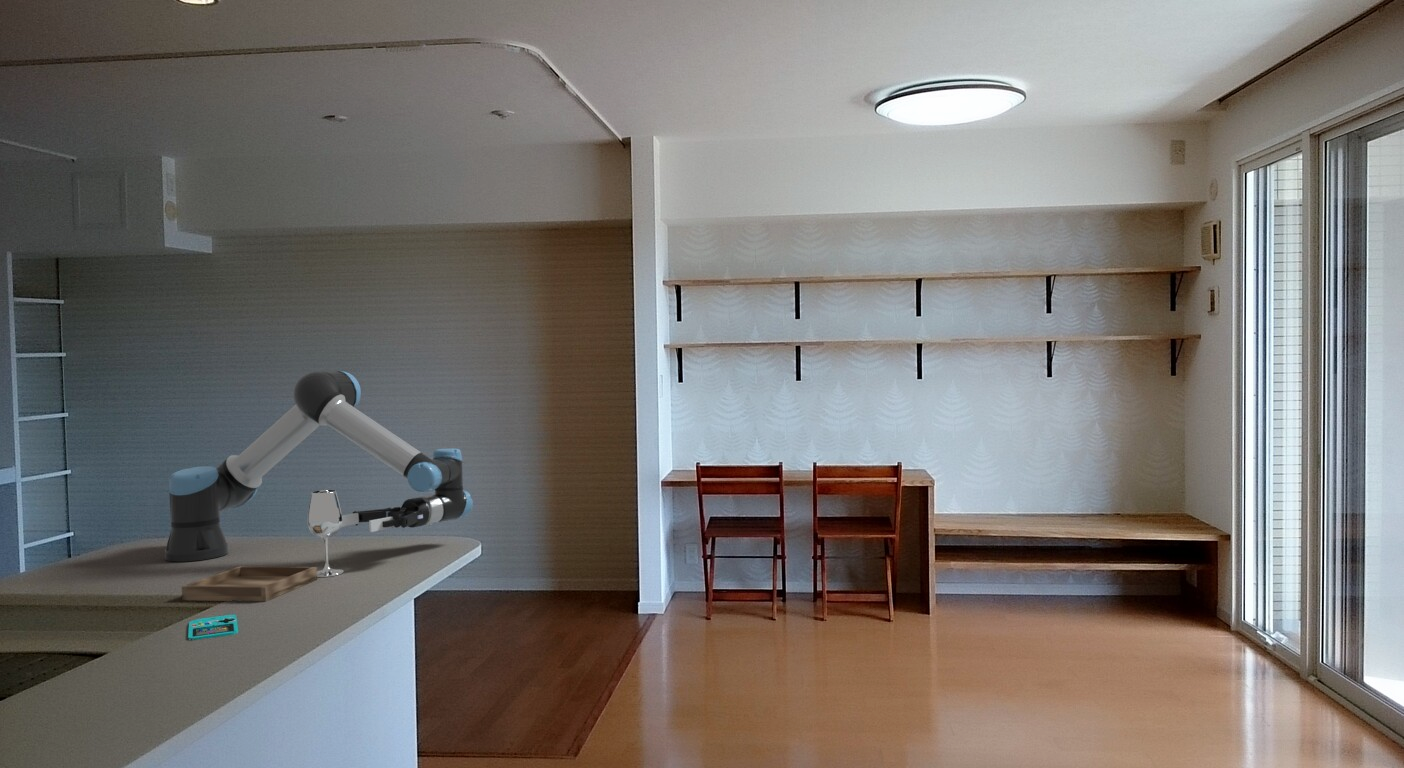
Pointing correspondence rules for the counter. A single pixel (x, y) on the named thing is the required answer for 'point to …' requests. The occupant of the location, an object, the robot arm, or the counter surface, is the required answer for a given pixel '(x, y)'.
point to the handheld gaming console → (213, 626)
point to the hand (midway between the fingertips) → (352, 524)
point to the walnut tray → (249, 583)
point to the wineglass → (325, 522)
